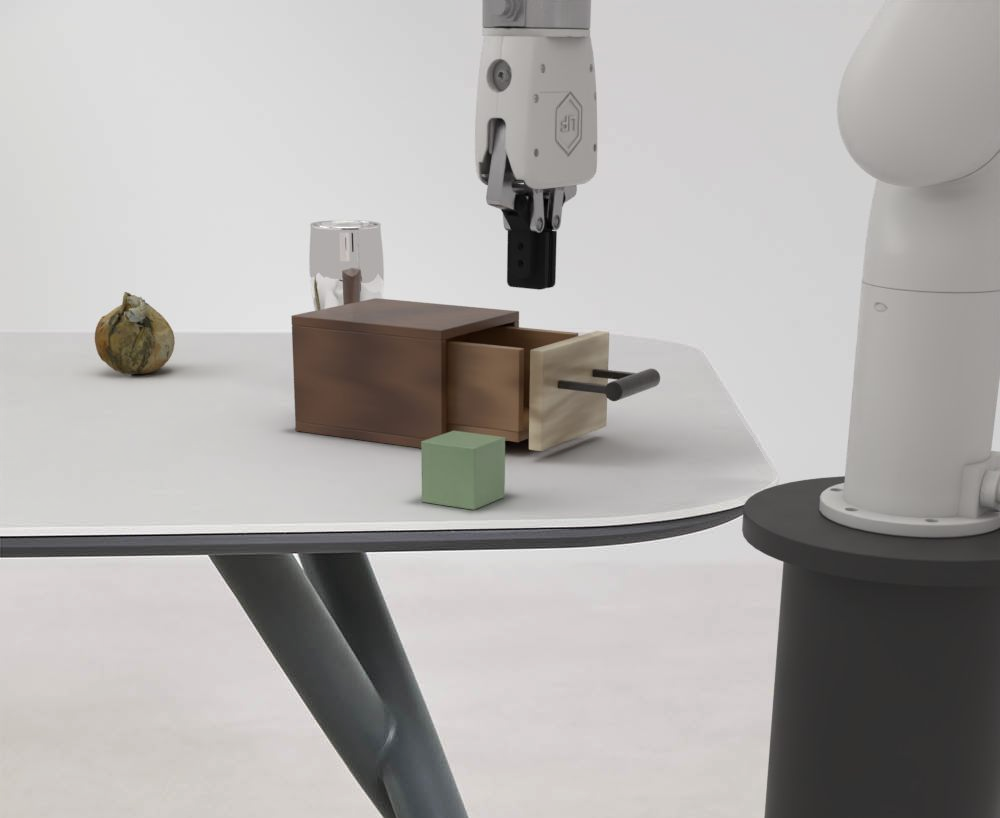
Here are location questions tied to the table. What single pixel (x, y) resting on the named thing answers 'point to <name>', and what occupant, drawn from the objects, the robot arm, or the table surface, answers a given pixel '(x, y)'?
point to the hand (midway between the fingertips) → (531, 286)
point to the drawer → (534, 384)
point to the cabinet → (379, 367)
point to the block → (463, 469)
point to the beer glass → (345, 262)
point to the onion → (134, 337)
